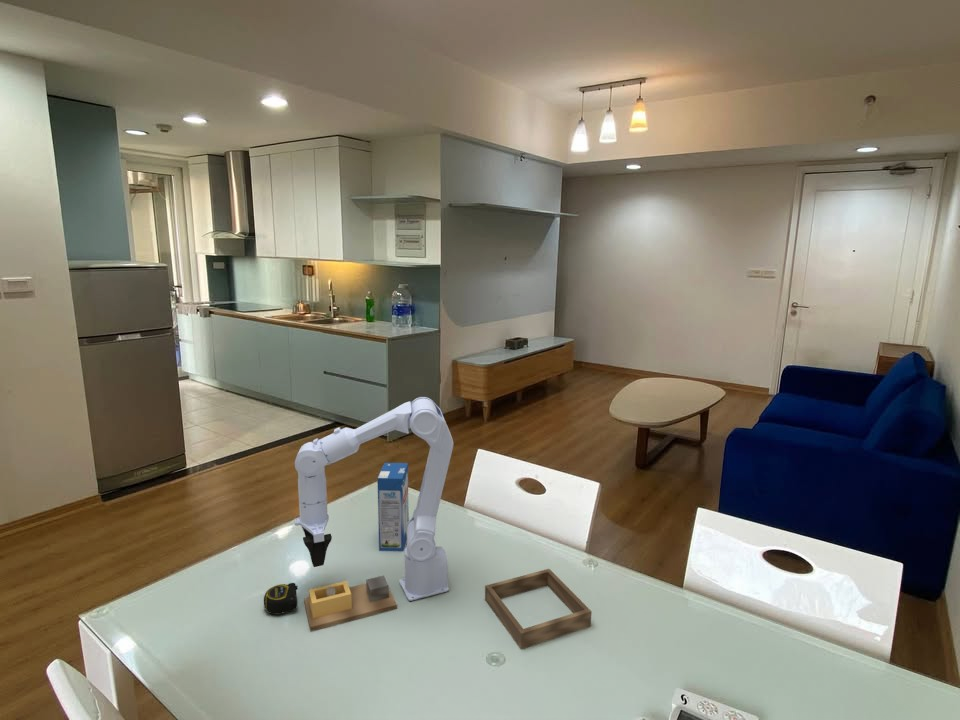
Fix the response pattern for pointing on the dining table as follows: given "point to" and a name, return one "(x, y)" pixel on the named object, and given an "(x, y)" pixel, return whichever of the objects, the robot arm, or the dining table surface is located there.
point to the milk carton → (393, 506)
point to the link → (330, 599)
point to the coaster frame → (543, 630)
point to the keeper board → (356, 604)
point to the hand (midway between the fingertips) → (315, 556)
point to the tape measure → (281, 598)
